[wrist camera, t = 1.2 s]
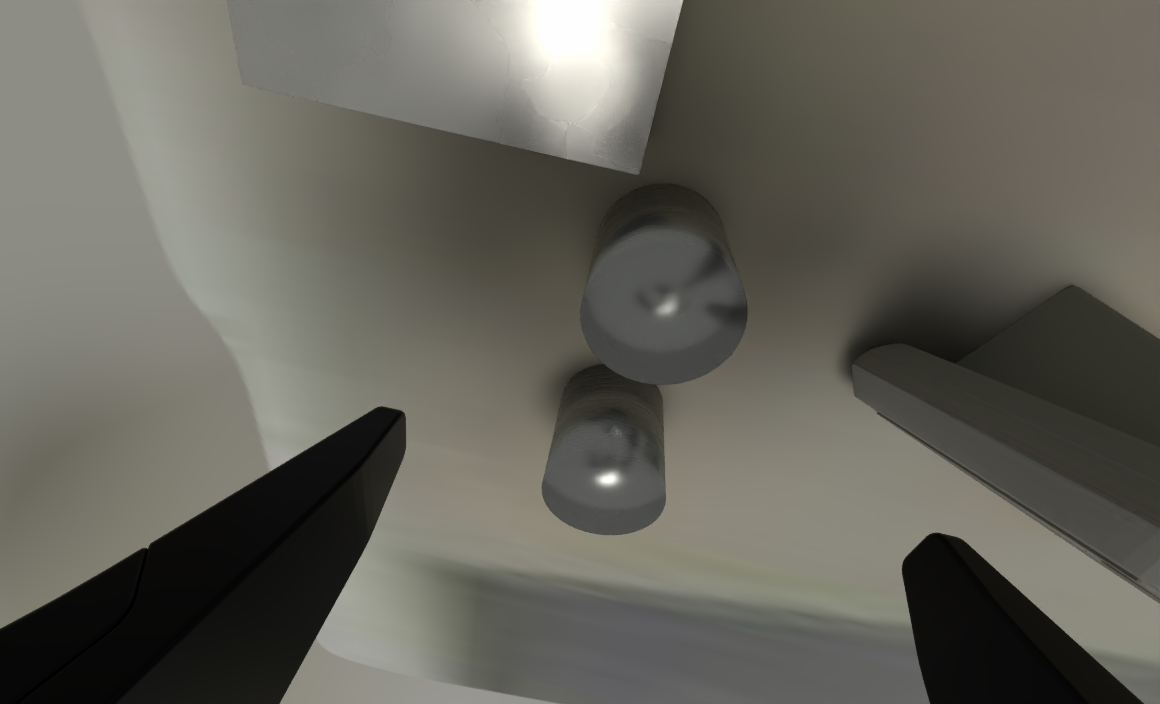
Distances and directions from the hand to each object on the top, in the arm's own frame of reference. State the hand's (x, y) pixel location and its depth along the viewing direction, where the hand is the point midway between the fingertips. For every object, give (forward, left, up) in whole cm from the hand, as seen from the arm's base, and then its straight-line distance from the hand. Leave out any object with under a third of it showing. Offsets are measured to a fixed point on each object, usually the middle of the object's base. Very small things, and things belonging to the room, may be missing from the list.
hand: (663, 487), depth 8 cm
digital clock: (-16, +4, -11) cm, 20 cm away
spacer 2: (0, +8, -11) cm, 13 cm away
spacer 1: (0, 0, -11) cm, 11 cm away
